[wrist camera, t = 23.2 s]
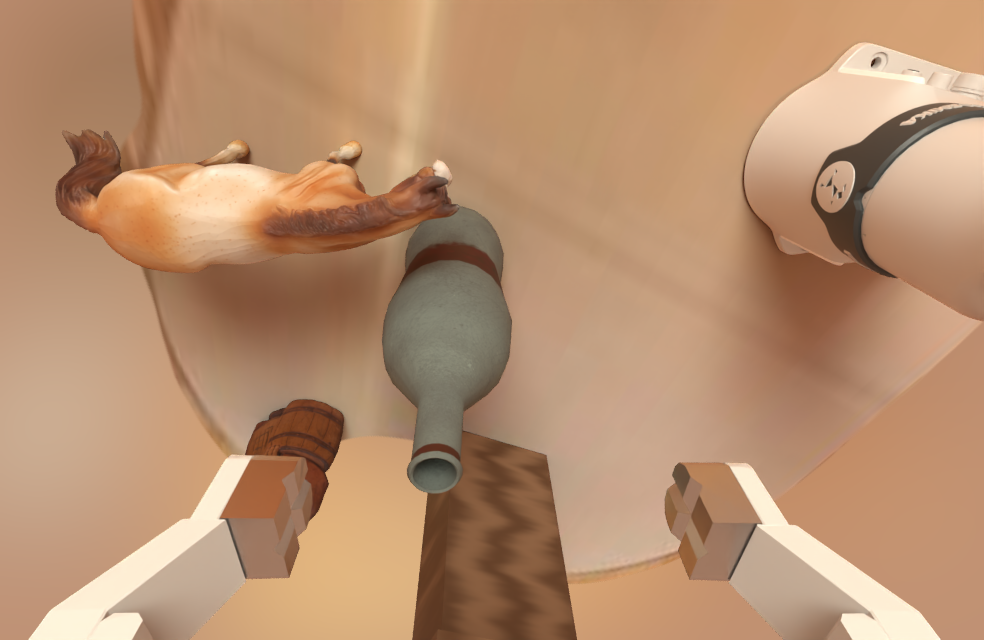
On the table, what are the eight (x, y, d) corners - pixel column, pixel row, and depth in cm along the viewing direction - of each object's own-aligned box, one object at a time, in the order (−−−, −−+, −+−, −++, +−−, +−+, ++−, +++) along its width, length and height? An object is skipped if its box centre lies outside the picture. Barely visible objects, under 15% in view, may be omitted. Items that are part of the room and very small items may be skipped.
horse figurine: (465, 120, 44) (458, 179, 26) (466, 205, 48) (461, 308, 30) (108, 117, 43) (-153, 177, 25) (139, 205, 47) (-68, 310, 29)
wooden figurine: (321, 385, 58) (264, 514, 42) (354, 421, 61) (312, 554, 45) (244, 423, 61) (164, 558, 45) (279, 456, 63) (215, 593, 48)
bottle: (434, 182, 46) (382, 370, 20) (518, 225, 49) (567, 443, 23) (395, 263, 50) (311, 506, 25) (475, 300, 53) (474, 556, 27)
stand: (551, 453, 65) (591, 677, 42) (519, 502, 69) (541, 727, 47) (451, 424, 62) (436, 648, 39) (424, 476, 66) (398, 705, 44)
